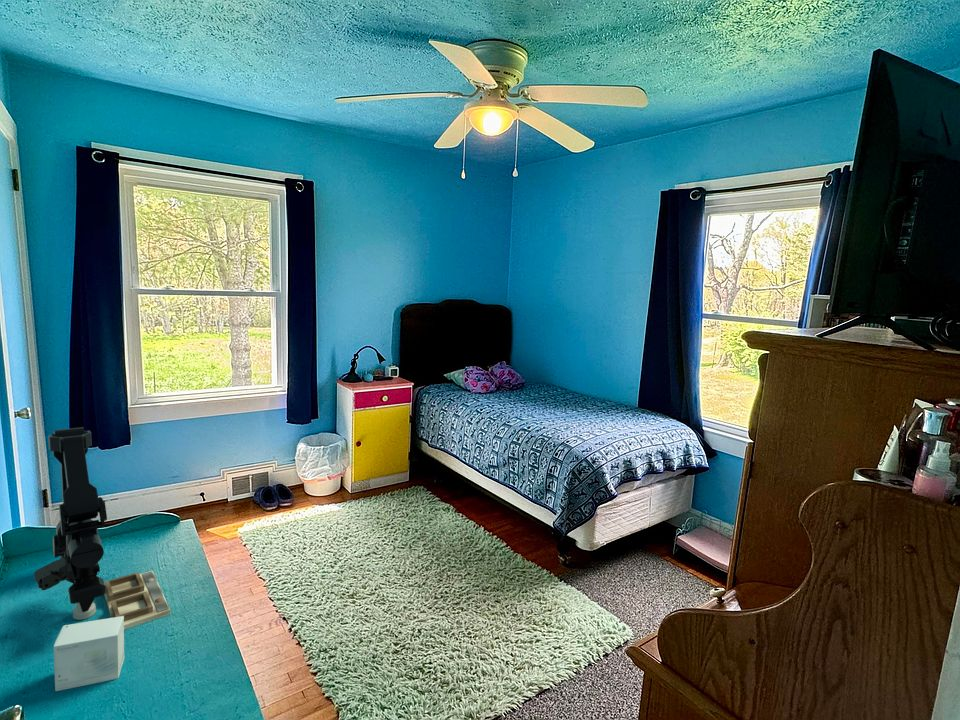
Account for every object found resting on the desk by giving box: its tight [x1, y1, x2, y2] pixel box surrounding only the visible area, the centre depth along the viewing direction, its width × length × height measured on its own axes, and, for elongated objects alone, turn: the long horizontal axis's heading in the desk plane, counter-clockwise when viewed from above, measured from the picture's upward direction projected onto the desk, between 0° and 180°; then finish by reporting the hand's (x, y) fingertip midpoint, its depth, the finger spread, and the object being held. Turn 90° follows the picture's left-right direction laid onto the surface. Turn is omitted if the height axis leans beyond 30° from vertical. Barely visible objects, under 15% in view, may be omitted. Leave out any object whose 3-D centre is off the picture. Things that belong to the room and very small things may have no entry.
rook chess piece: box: [72, 602, 97, 621], centre depth 118 cm, size 4×4×8 cm
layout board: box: [103, 570, 171, 631], centre depth 125 cm, size 20×11×3 cm, turn 44°
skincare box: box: [53, 616, 126, 692], centre depth 102 cm, size 10×6×10 cm, turn 115°
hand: (84, 606), depth 119 cm, fingers closed on rook chess piece, 3 cm apart
